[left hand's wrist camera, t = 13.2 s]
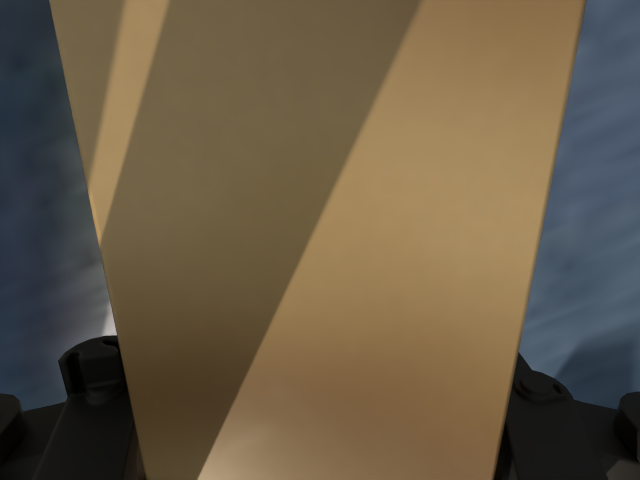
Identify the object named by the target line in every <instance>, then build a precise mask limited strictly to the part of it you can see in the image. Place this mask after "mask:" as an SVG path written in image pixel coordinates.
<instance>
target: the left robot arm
mask: <svg viewBox="0 0 640 480" xmlns="http://www.w3.org/2000/svg"><path fill="white" fill-rule="evenodd" d="M58 362H59V366H60V370H61V373H62V377H63V381H64V384H65V388H66V392H67V396H68V398H67V400H66V402H63V403H59V404H56V405H51V406H47V407H42V408H37V409H33V410H28V411H24V412H23V410H22V407H21V404H20V401H19V400H18V399H17V398H16V397H15V396H13V395H8V394H0V480H146V475H145V470H144V465H143V460H142V455H141V450H140V445H139V441H138V436H137V431H136V426H135V421H134V416H133V411H132V406H131V401H130V396H129V391H128V386H127V381H126V376H125V372H124V367H123V362H122V357H121V352H120V347H119V342H118V337H117V335H116V336H102V337H98V338H93V339H90V340H87V341H85V342H82V343H80V344H78V345H76V346H74V347H73V348H71V349H70V350H68V351H67V352H65V353H64V355H63V356H62V357H61V358H60V359H59V360H58ZM494 480H640V392H633V393H627V394H626V395H625V396H623V397H622V398H621V400H620V403H619V406H618V409H617V410H616V409H611V408H606V407H602V406H597V405H592V404H588V403H583V402H580V401H576V400H574V399H573V397H572V395H571V394H570V392H569V391H568V390H567V388H566V387H565V386H564V385H562V384H561V383H560V382H558V381H557V380H556V379H554V378H552V377H550V376H548V375H546V374H543V373H541V372H537V371H533V370H532V369H531V368H530V367H529V365H528V364H527V363H526V361H525V360H524V359H523V357H522V356H521V355H520V353H519V352H518V357H517V362H516V368H515V373H514V378H513V383H512V388H511V393H510V398H509V404H508V409H507V414H506V419H505V424H504V429H503V435H502V440H501V445H500V450H499V455H498V460H497V466H496V471H495V476H494Z"/></svg>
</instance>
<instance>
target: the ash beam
mask: <svg viewBox="0 0 640 480" xmlns="http://www.w3.org/2000/svg"><path fill="white" fill-rule="evenodd" d="M586 1H587V0H49V2H50V7H51V11H52V16H53V21H54V26H55V31H56V36H57V41H58V46H59V51H60V56H61V61H62V66H63V71H64V76H65V81H66V85H67V90H68V95H69V100H70V105H71V110H72V115H73V120H74V125H75V130H76V135H77V140H78V145H79V150H80V154H81V159H82V164H83V169H84V174H85V179H86V184H87V189H88V194H89V199H90V204H91V209H92V214H93V219H94V224H95V228H96V233H97V238H98V243H99V248H100V253H101V258H102V263H103V268H104V273H105V278H106V283H107V288H108V293H109V298H110V302H111V307H112V312H113V317H114V322H115V327H116V332H117V337H118V342H119V347H120V352H121V357H122V362H123V367H124V372H125V376H126V381H127V386H128V391H129V396H130V401H131V406H132V411H133V416H134V421H135V426H136V431H137V436H138V441H139V445H140V450H141V455H142V460H143V465H144V470H145V475H146V480H494V476H495V471H496V466H497V460H498V455H499V450H500V445H501V440H502V435H503V429H504V424H505V419H506V414H507V409H508V404H509V398H510V393H511V388H512V383H513V378H514V373H515V368H516V362H517V357H518V352H519V347H520V342H521V337H522V331H523V326H524V321H525V316H526V311H527V306H528V300H529V295H530V290H531V285H532V280H533V275H534V269H535V264H536V259H537V254H538V249H539V244H540V238H541V233H542V228H543V223H544V218H545V213H546V207H547V202H548V197H549V192H550V187H551V182H552V176H553V171H554V166H555V161H556V156H557V151H558V145H559V140H560V135H561V130H562V125H563V120H564V114H565V109H566V104H567V99H568V94H569V89H570V84H571V78H572V73H573V68H574V63H575V58H576V53H577V47H578V42H579V37H580V32H581V27H582V22H583V16H584V11H585V6H586Z"/></svg>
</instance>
